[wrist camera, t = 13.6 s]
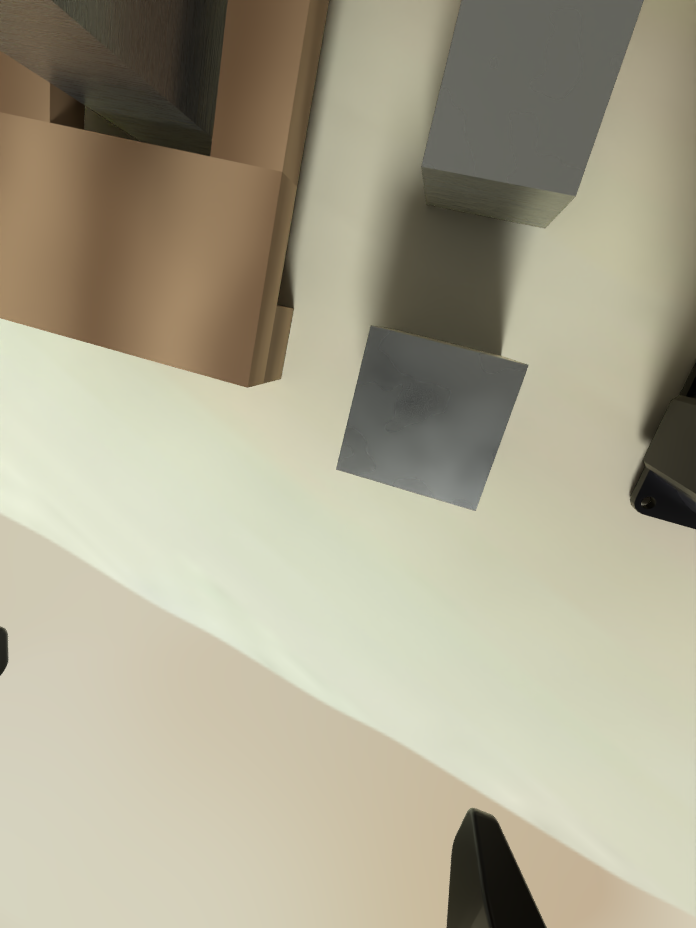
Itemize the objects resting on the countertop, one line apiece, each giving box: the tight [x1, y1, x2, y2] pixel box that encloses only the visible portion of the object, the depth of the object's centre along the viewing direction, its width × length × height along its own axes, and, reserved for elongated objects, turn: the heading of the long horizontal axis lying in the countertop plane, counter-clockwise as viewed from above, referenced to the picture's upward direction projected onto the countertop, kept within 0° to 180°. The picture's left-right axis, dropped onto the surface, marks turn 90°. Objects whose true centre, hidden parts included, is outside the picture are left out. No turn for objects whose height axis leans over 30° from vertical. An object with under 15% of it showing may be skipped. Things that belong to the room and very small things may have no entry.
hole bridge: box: [0, 0, 329, 388], centre depth 15 cm, size 11×20×4 cm, turn 166°
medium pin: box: [336, 325, 528, 511], centre depth 15 cm, size 4×4×6 cm
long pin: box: [0, 0, 228, 156], centre depth 13 cm, size 4×4×9 cm
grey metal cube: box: [421, 0, 644, 228], centre depth 14 cm, size 4×4×4 cm
